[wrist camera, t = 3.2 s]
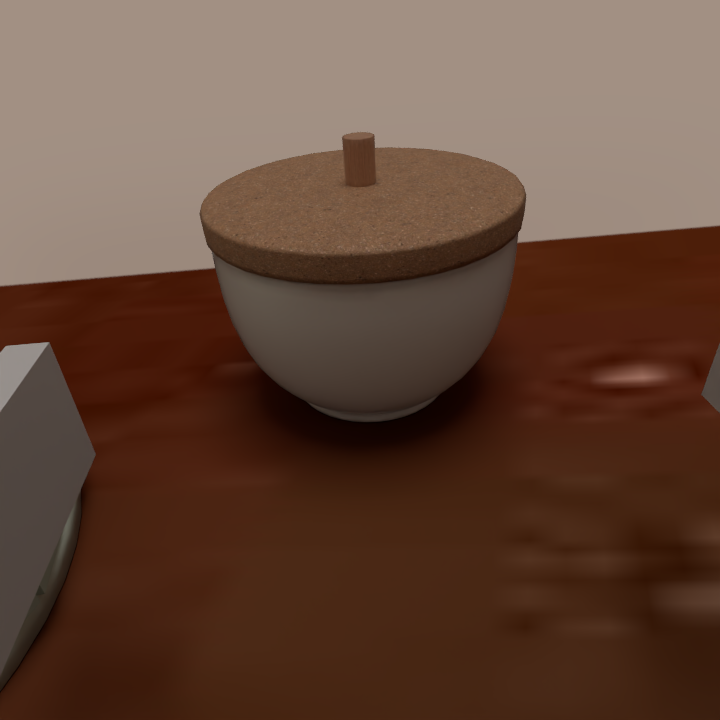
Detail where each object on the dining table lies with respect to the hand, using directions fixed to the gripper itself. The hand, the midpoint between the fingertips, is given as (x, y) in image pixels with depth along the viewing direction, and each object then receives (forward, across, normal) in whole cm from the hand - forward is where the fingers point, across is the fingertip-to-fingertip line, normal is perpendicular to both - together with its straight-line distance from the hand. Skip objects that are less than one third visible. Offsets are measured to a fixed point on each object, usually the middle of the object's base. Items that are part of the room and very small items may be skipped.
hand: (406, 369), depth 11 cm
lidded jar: (+10, 0, -7) cm, 12 cm away
